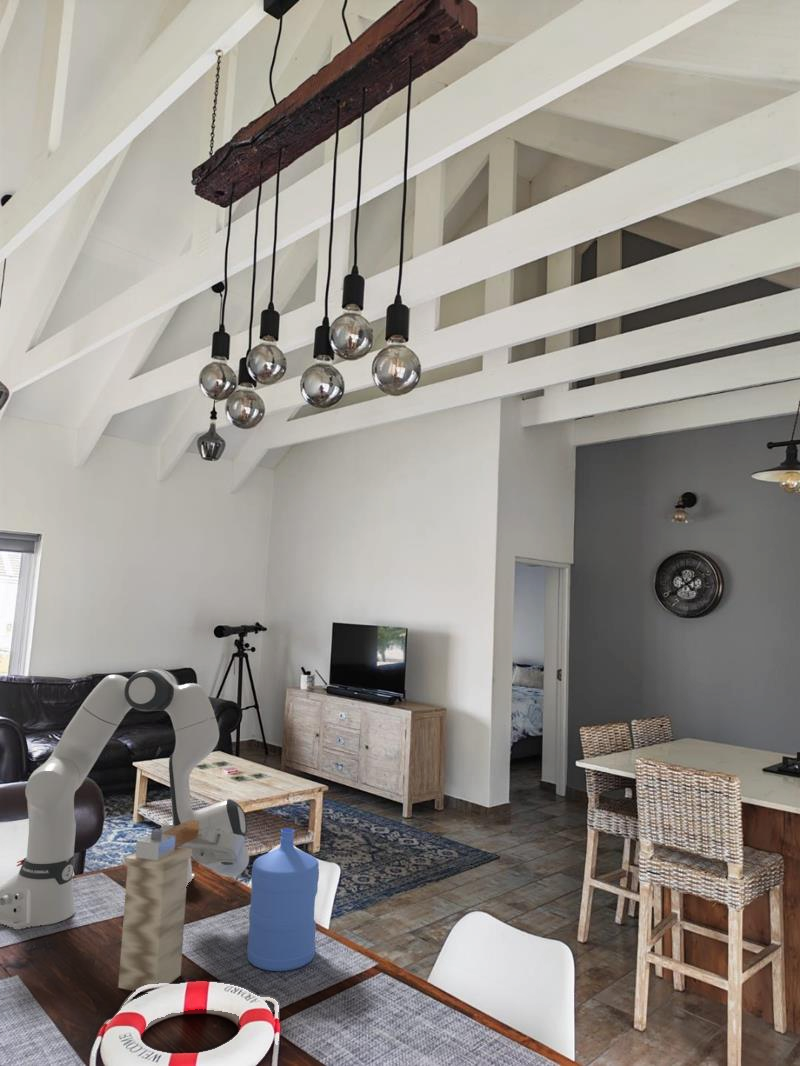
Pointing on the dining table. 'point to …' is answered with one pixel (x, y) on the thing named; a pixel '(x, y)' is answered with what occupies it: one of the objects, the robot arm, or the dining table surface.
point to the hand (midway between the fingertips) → (185, 830)
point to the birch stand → (153, 920)
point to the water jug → (283, 907)
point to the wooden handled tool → (166, 841)
